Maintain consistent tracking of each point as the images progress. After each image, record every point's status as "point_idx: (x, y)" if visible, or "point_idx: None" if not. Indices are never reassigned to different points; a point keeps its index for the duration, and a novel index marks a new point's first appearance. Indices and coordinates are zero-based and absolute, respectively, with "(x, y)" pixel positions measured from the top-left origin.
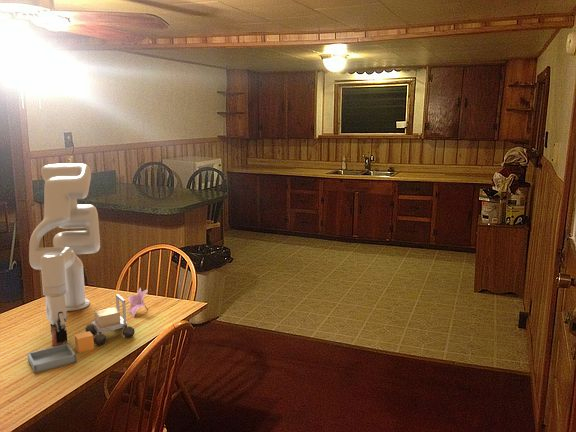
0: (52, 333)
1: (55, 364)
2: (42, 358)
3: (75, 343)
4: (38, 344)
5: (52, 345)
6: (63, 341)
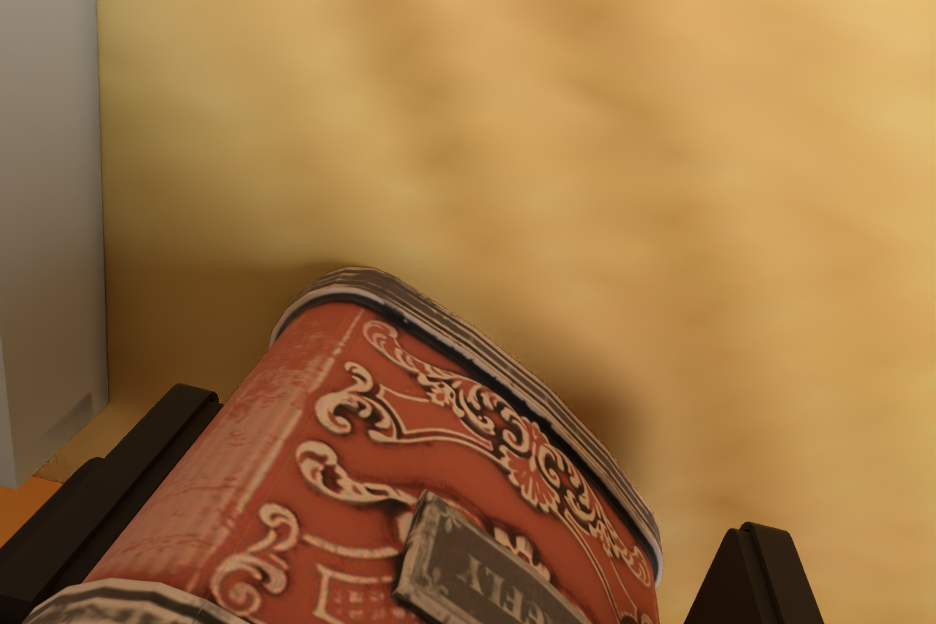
0: (181, 496)
1: None
2: None
3: None
4: (819, 156)
5: (378, 301)
6: None
